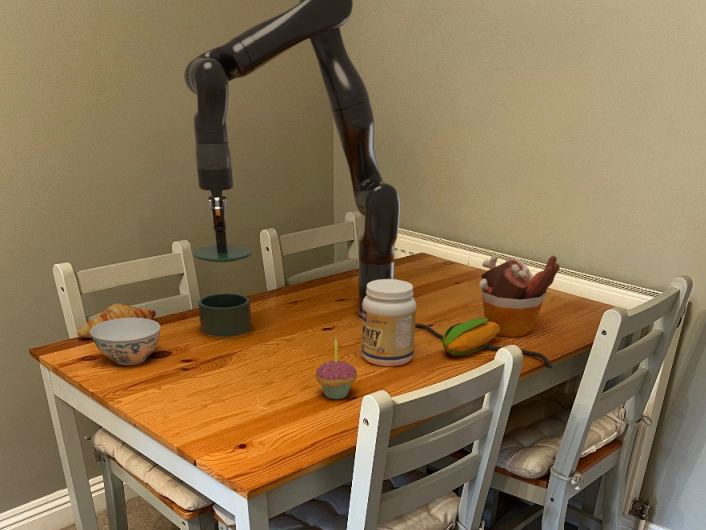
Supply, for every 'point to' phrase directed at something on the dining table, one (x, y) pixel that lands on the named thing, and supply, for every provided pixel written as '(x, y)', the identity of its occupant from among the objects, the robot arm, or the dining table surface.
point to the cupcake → (336, 376)
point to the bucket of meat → (514, 294)
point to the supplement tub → (388, 322)
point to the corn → (469, 336)
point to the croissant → (115, 316)
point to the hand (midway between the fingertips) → (221, 246)
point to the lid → (222, 253)
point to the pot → (225, 314)
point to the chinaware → (126, 339)
